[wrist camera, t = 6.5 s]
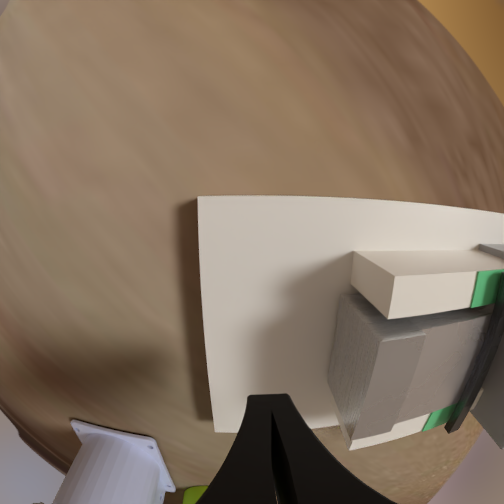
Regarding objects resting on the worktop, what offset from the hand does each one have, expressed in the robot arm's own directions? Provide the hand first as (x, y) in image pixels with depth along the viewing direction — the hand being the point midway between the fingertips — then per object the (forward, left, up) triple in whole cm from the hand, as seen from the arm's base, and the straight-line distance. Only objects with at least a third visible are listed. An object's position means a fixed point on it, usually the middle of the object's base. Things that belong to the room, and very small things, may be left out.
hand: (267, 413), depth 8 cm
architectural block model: (0, -7, -6) cm, 10 cm away
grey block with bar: (0, -8, -5) cm, 9 cm away
